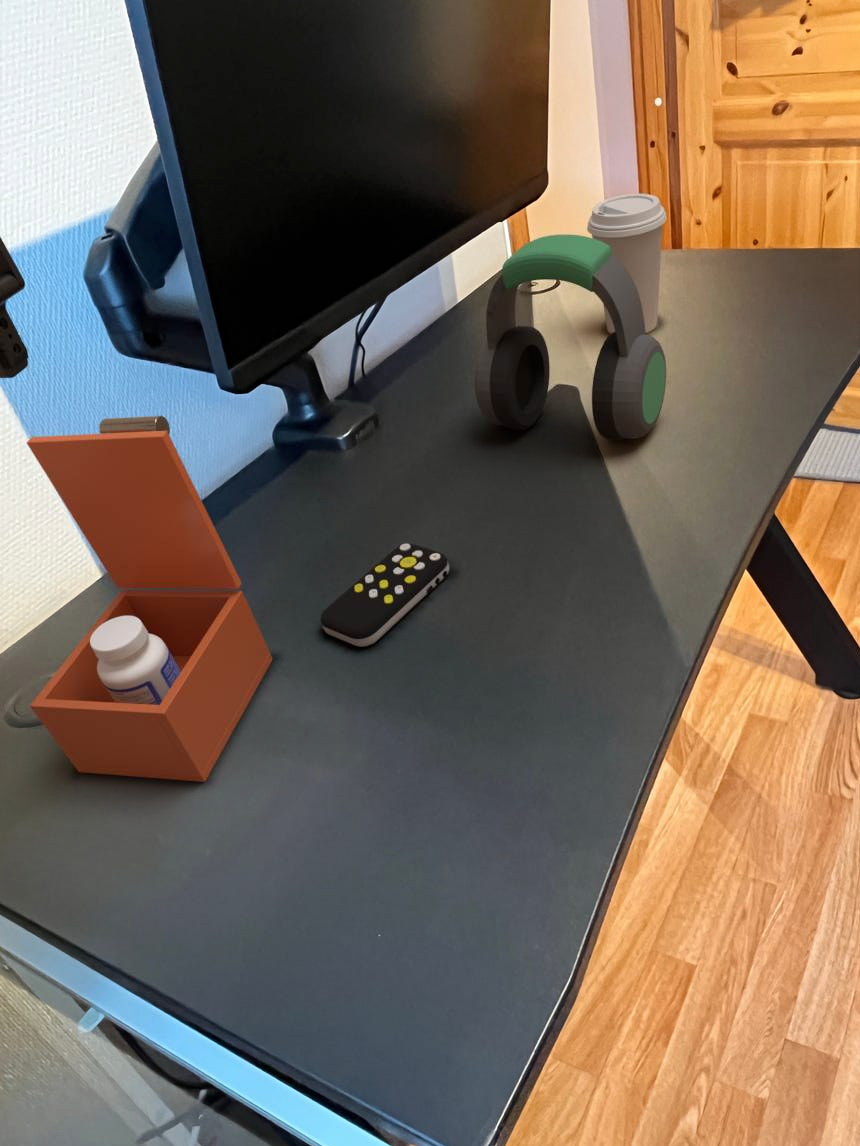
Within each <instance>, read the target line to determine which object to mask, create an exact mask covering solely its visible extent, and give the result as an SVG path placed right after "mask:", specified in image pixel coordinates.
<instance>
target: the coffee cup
mask: <svg viewBox="0 0 860 1146" xmlns="http://www.w3.org/2000/svg"><path fill="white" fill-rule="evenodd" d="M667 218H668V217H667V214H666V211H665V208H664V206H663V205H661V201H660V198H659V197H658V196H656V195H653V194H649V193H629V194H628V193H627V194H622V195H617V196H612V197H609V198H607V199H604V200H602V201H600V202H598V203H597V204H595V205H594V206H593V208H592V211H591V216H589V218H588V222H587V227H586V230H587V233H589V234H590V235H591V238H593V239H596V240H598V241H601V242H603V243H605V244H607V245H609V246H610V247H611V249H612V254H613V255H614V256H615V257H616V258H617V259H618V260H619V261H620V262H621V263H622V264H623V265H624V266H625V268H626V269H627V271H628V272H629V274H630V275H631V277H632V279H633V281H634V283H635V286H636V288H637V291H638V294H639V297H640V301H641V305H642V310H643V316H644V323H645V332H646V334H648V333H649V332H652V331H653V330H654V329H656V327H657V326H658V318H659V317H658V315H659V297H660V279H661V259H662V242H663V241H662V240H663V225H664V224H665V223H666V221H667V220H668V219H667ZM602 305H603V310H604V312H603V313H604V317H605V323H606V329H607V332H608V333H609V334H611V333H613V332H615V328H614V325H613V322H612V319H611V317H610V315H609V313H608V311H607V309H606V307H605V305H604V304H603V303H602Z"/></svg>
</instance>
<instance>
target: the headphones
mask: <svg viewBox="0 0 860 1146" xmlns="http://www.w3.org/2000/svg"><path fill="white" fill-rule="evenodd" d="M501 268H502V269H501V275H500V276H499V277H498V278H497V279H496V281H495V282H494V285H493V286H492V289H491V290H490V293H489V297H488V301H487V306H486V315H485V316H486V317H485V326H486V327H485V328H486V339H485V341H484V342H483V344H482V345H481V348H480V351H479V353H478V357H477V359H476V364H475V370H474V392H475V397H476V402H477V406H478V408H479V410H480V412H481V414H482V415H483V416H484V417H485V418H486V420H488V421H489V423H492V424H495V425H498V426H504V427H506V428H508V429H511V430H518V431H524V430H526V429H530V428H532V426H534V424H536V422H537V421H538V420H539V418H540V416H541V414H542V412H543V410H544V407H545V404H546V400H547V396H548V391H549V385H550V367H551V366H550V365H551V364H550V355H549V350H548V345H547V343H546V342H547V341H546V340H545V338H544V336H543V334H542V333H541V332H540V330H538V329H537V328H535V327H534V326H529V325H518V326H517V322H516V301H517V293H518V288H519V285H522V284H524V283H528V282H533V281H542V280H543V281H544V280H545V281H547V280H548V281H549V280H550V281H562V282H567V283H570V284H574V285H577V286H579V287H581V288H583V289H585V290H587V291H588V292H590V293H594V294H595V295H596V296H597V297H598V298H599V300H600V301H601V303H602V305H603V304H604V305H605V307H606V309H607V311H608V313H609V315H610V317H611V319H612V322H613V325H614V328H615V332H613V333H609V335H608V336H607V337H606V338H605V340H604V342H603V343H602V345H601V347H600V350H599V353H598V356H597V359H596V362H595V366H594V372H593V377H592V387H591V411H592V418H593V423H594V426H595V429H596V431H597V433H598V434H599V435H600V436H601V437H603V438H605V439H607V440H616V441H619V440H623V439H639V438H642V437H644V436H646V435H647V434H648V433H650V432H651V430H652V429H653V428H654V427H655V425H656V423H657V421H658V419H659V416H660V414H661V411H662V408H663V403H664V400H665V399H664V398H665V394H666V393H665V392H666V387H667V386H666V385H667V362H666V355H665V352H664V350H663V347H662V345H661V343H660V342H659V341H658V340H657V339H656V338H655V337H654V336H653V335H648V334H647V333H646V332H645V323H644V316H643V310H642V305H641V301H640V297H639V294H638V291H637V288H636V286H635V283H634V281H633V279H632V277H631V275H630V274H629V272H628V271H627V269H626V268H625V266H624V265H623V264H622V263H621V262H620V261H619V260H618V259H617V258H616V257H615V256H614V255H613V254H612V249H611V247H610V246H609V245H607V244H605V243H603V242H601V241H598V240H596V239H593V238H592V237H589V236H585V235H579V234H552V235H545V236H542V237H537V238H535V239H532V240H531V241H529V242H527V243H525V244H524V245H522V246H521V247H519V249H518V250H516V251H515V252H514V253H513V254H512V255H511V256H509V258H508V259H506V260H505V261H504V262H503V264H502V267H501ZM604 305H603V306H604Z"/></svg>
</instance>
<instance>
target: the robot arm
mask: <svg viewBox="0 0 860 1146" xmlns="http://www.w3.org/2000/svg"><path fill="white" fill-rule="evenodd" d="M25 288H26V281H25V279H24V277H23V276H22V274H21V271H20V270H19V268H18V265H16V262H15V261H14V259H13V257H12V255H11V254H10V252H9V250H8V248H7V246H6V244H5V242H4V240H3V239H2V237H1V236H0V379H13V378H15V377H16V376H18V375H19V374H20V373H21V372H23V371H24V370H25V369H27V367H28V366H29V360H28V359H29V351H28V349H27V347H26V344H25V342H24V341H23V339H22V337H21V335H20V334H19V331H18V329H17V328H16V325H15V324H14V321H13V319H12V317H11V316H10V314H9V312H8V309H7V307H6V305H7V301H8V300H9V299H11V298H12V297H13V296H15V295H17V294H18V293H20V292H21V291H23V290H24V289H25Z"/></svg>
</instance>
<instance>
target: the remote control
mask: <svg viewBox="0 0 860 1146" xmlns="http://www.w3.org/2000/svg"><path fill="white" fill-rule="evenodd" d="M449 572H450V563H449V560H448V558H447V556H446V555H445V554H444V553H442V552H440V551H436V550H433V549H431V548H427V547H424V546H421V545H418V544H415V543H403V544H401V545H398V546H397V547H396V548H394V549H392V551H390V553H388V554H387V555H386V556H385V557H384V558H383V559H381V560H380V561H379V562H378V563H377V564H375V565H374V566H373V567H372V568H371V569H370V570H369V571H367V572H366V573H365V574H364V575H363V576H362V577H361V578H359V579H358V580H357V581H356V582H355V583H354V584H353V585H351V586H350V587H349V588H348V589H347V590H346V591H344V592H343V593H342V594H341V595H340V596H338V597H337V598H336V599H335V600H333V602H332V603H330V604H329V605H328V606H327V607H326V608H325V609H324V610H323V611H322V613H321V614H320V624H321V626H322V629H323V630H324V632H325V633H326V634H327V635H329V636H332V637H334V638H337V639H339V640H341V641H343V642H346V643H348V644H351V645H353V646H357V647H368V646H371V645H373V644H375V643H377V641H378V640H380V639H381V638H382V637H383V636H384V635H385V634H386V633H387V632H388V631H389V630H390V629H391V628H393V627H394V626H395V625H396V624H397V623H398V622H399V621H400V620H402V618H403V617H404V616H406V615H407V614H408V612H410V611H411V610H412V609H413V608H414V607H415V606H416V605H417V604H418V603H419V602H420V601H421V600H422V599H424V598H425V596H427V595H428V594H429V593H430V592H431V591H432V590H433V589H434V588H435V587H437V585H438V584H439V583H441V581H443V580H444V579H445V578H446V577H447V575H449Z"/></svg>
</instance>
